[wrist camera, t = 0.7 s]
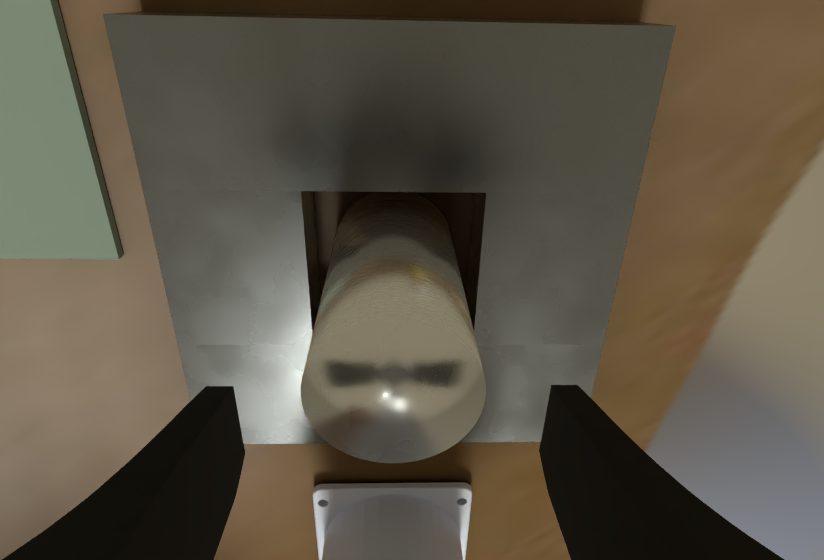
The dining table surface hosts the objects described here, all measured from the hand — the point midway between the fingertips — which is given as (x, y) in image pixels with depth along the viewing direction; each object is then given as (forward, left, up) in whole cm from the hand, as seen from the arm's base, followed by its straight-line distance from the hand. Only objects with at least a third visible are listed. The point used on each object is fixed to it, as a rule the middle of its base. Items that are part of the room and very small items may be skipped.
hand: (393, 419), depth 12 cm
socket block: (0, 0, -10) cm, 10 cm away
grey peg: (0, 0, -10) cm, 10 cm away
